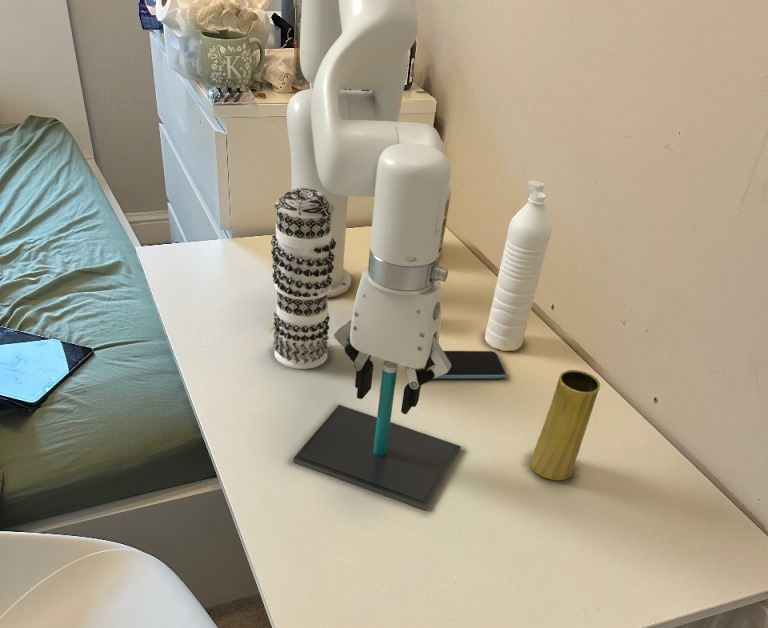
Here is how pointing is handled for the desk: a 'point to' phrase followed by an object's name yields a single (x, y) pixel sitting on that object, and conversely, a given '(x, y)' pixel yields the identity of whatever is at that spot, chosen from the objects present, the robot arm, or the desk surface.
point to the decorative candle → (302, 277)
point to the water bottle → (519, 272)
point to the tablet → (379, 457)
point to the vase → (565, 425)
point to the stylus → (385, 407)
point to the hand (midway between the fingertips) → (385, 399)
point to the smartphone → (472, 365)
